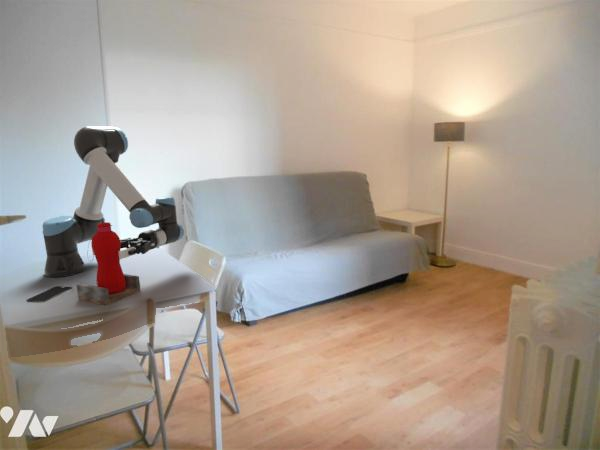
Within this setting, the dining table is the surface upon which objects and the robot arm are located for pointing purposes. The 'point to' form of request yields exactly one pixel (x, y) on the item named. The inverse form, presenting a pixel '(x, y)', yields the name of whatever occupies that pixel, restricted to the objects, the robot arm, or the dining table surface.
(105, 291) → the bottle holder
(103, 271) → the water bottle
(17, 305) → the dining table surface
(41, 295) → the smartphone
